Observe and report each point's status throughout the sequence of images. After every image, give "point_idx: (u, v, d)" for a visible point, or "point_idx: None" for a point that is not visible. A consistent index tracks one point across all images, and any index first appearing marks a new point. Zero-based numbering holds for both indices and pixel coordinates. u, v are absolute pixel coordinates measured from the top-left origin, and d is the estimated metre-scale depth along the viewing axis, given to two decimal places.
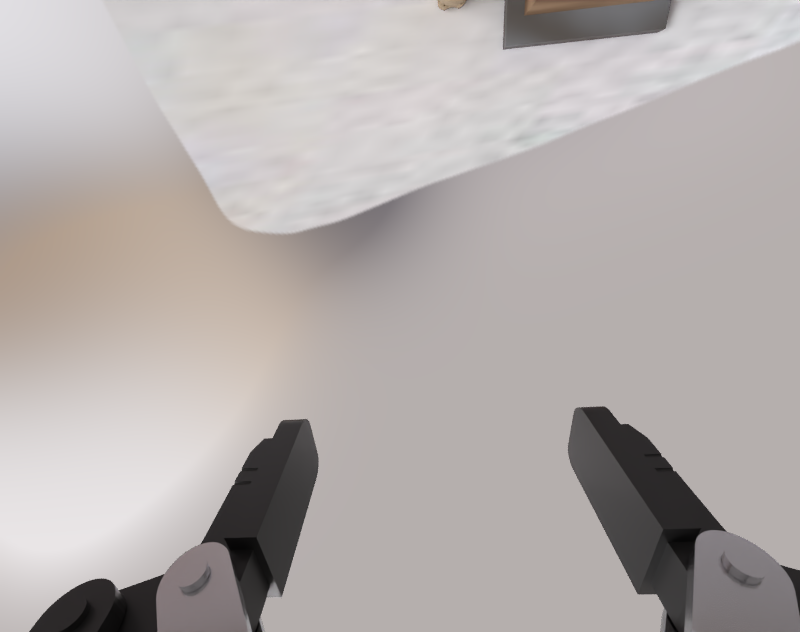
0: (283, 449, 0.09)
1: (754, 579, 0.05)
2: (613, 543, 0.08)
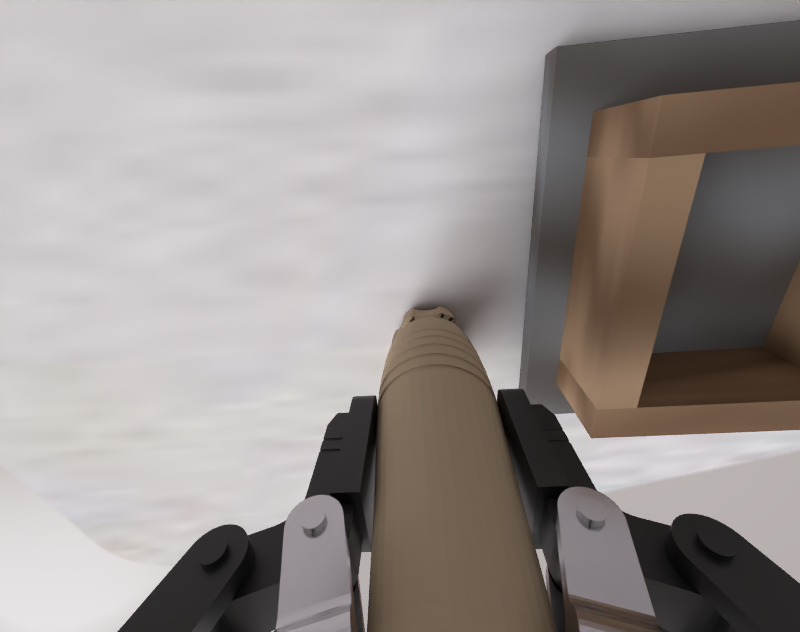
0: (362, 420, 0.10)
1: (596, 523, 0.06)
2: None
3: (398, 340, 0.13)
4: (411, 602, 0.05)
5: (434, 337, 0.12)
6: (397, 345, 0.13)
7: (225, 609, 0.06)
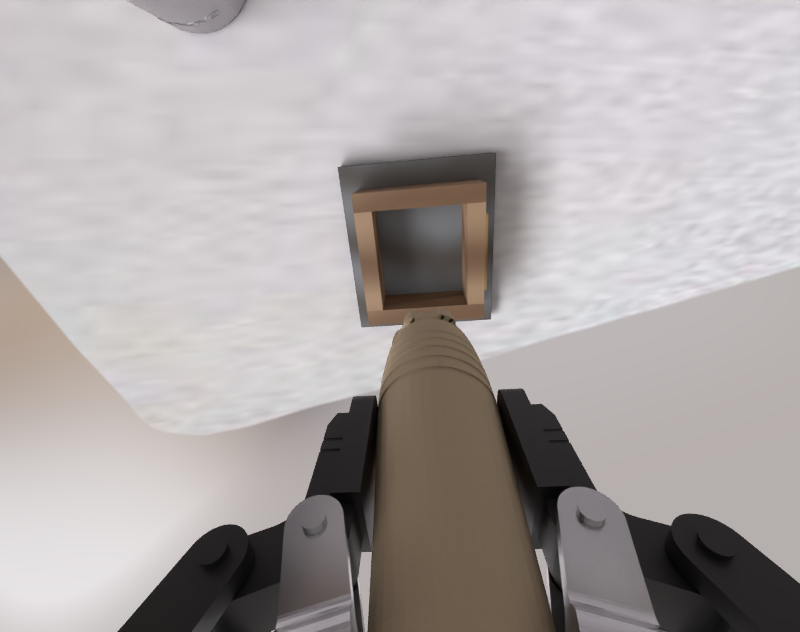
0: (362, 420, 0.10)
1: (596, 523, 0.06)
2: None
3: (398, 342, 0.13)
4: (411, 604, 0.05)
5: (434, 339, 0.12)
6: (397, 347, 0.13)
7: (225, 609, 0.06)
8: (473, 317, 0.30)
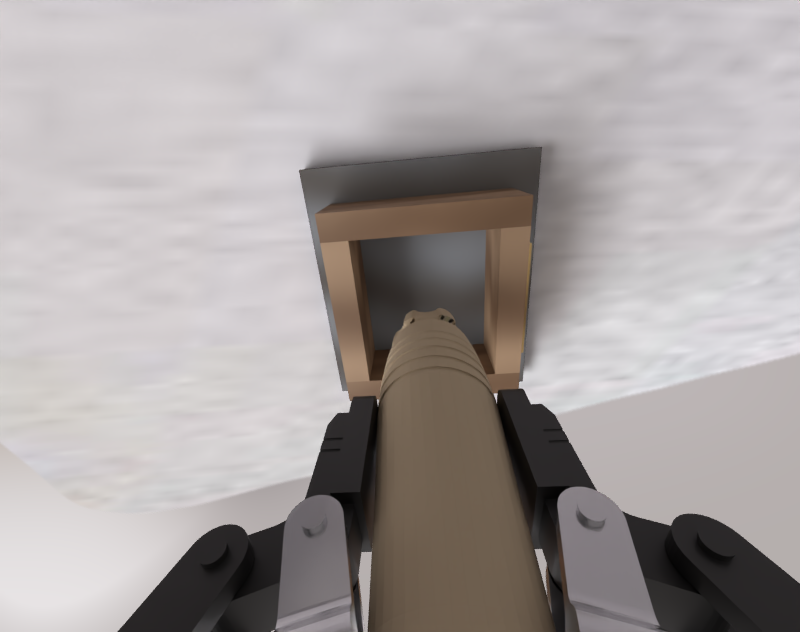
0: (362, 420, 0.10)
1: (596, 523, 0.06)
2: None
3: (398, 342, 0.13)
4: (411, 604, 0.05)
5: (434, 339, 0.12)
6: (397, 347, 0.13)
7: (225, 609, 0.06)
8: None
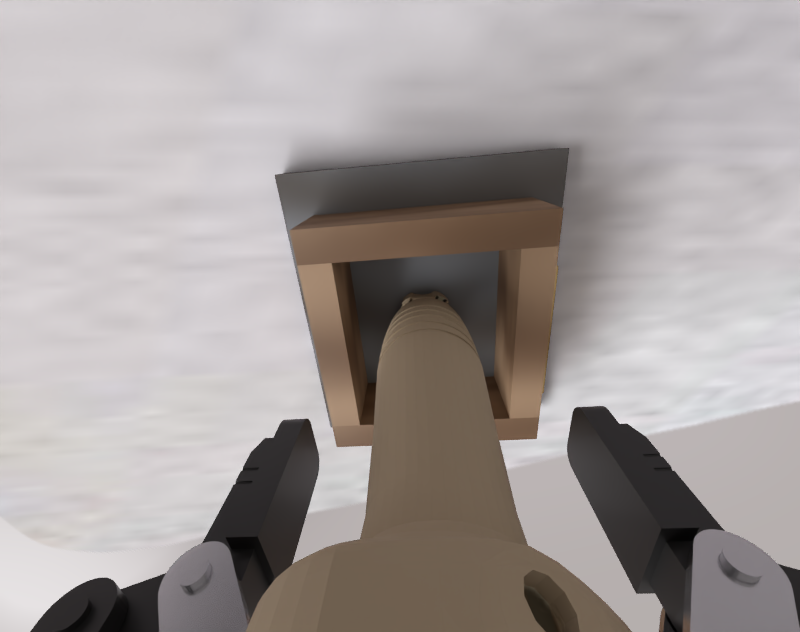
0: (284, 448, 0.09)
1: (752, 578, 0.05)
2: (612, 542, 0.08)
3: (397, 315, 0.15)
4: (400, 475, 0.07)
5: (428, 311, 0.14)
6: (396, 319, 0.14)
7: None
8: (518, 437, 0.17)
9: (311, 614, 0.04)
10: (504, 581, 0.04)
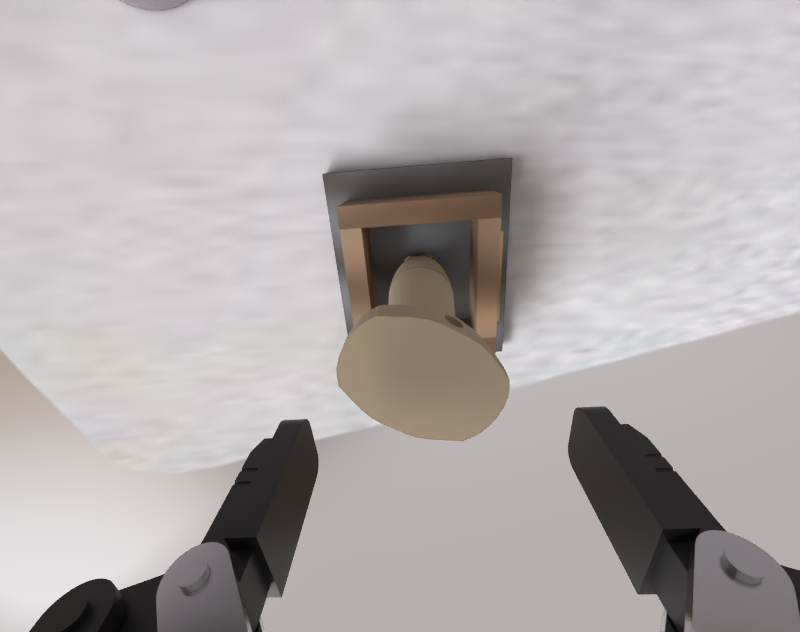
0: (283, 449, 0.09)
1: (754, 579, 0.05)
2: (613, 543, 0.08)
3: (401, 265, 0.23)
4: None
5: (420, 260, 0.22)
6: (400, 266, 0.23)
7: None
8: None
9: (374, 312, 0.12)
10: (437, 312, 0.12)
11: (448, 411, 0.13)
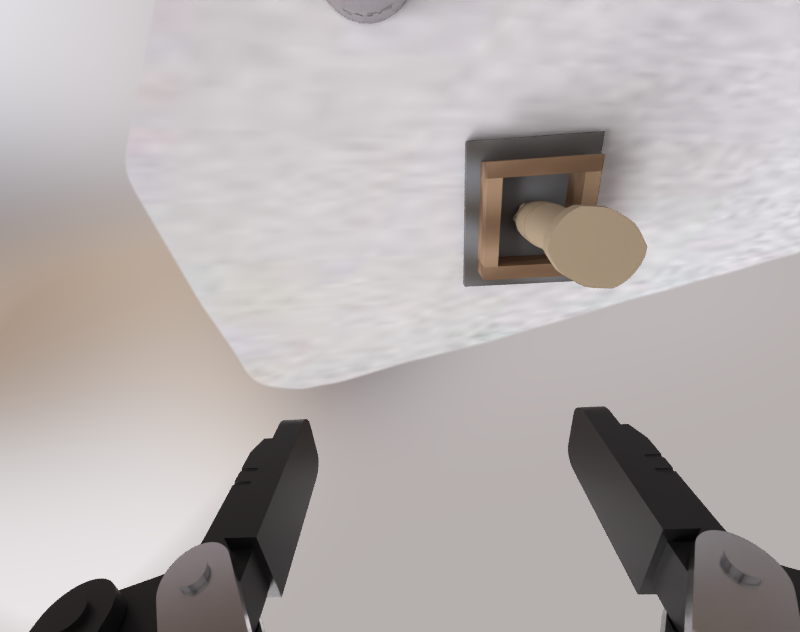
0: (283, 449, 0.09)
1: (754, 579, 0.05)
2: (613, 543, 0.08)
3: (525, 206, 0.32)
4: None
5: (542, 201, 0.32)
6: (526, 206, 0.32)
7: None
8: None
9: (575, 206, 0.21)
10: None
11: (607, 268, 0.23)
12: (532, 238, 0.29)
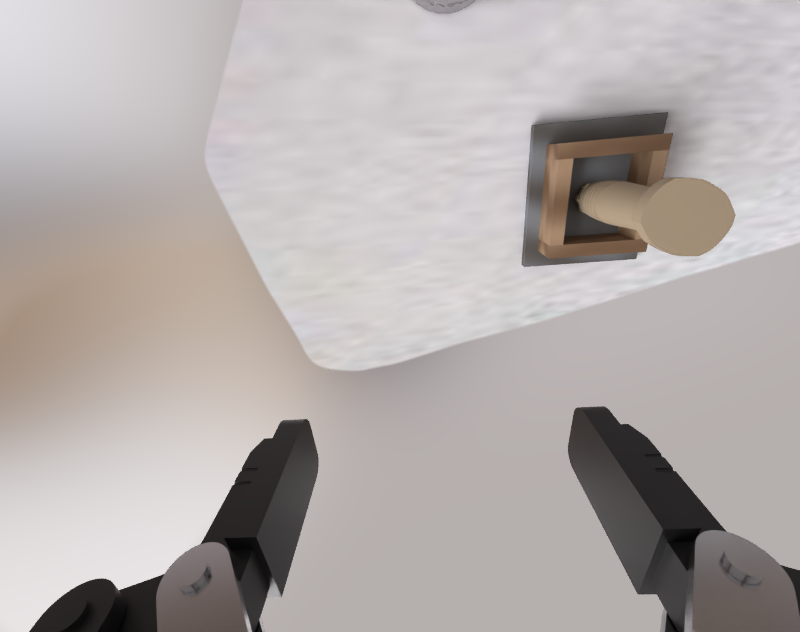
0: (283, 449, 0.09)
1: (754, 579, 0.05)
2: (613, 542, 0.08)
3: (592, 186, 0.34)
4: None
5: None
6: (594, 186, 0.34)
7: None
8: (637, 250, 0.36)
9: (669, 178, 0.23)
10: None
11: (696, 236, 0.24)
12: (605, 215, 0.31)
